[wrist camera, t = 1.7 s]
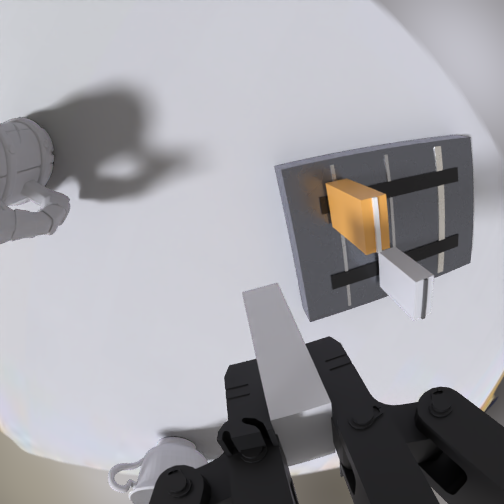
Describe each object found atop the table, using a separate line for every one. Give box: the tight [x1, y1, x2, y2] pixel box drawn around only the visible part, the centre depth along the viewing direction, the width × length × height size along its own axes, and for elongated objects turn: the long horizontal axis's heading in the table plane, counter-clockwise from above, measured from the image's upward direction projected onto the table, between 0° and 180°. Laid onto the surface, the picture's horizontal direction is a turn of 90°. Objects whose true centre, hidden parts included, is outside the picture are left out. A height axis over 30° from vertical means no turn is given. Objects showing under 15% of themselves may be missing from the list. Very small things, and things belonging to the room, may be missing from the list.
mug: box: [0, 117, 70, 244], centre depth 16 cm, size 8×12×12 cm, turn 49°
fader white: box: [378, 247, 434, 321], centre depth 23 cm, size 4×2×6 cm, turn 13°
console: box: [274, 135, 473, 322], centre depth 26 cm, size 14×20×3 cm
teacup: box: [108, 437, 208, 504], centre depth 32 cm, size 12×15×10 cm
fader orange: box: [326, 178, 390, 255], centre depth 21 cm, size 4×2×6 cm, turn 13°
